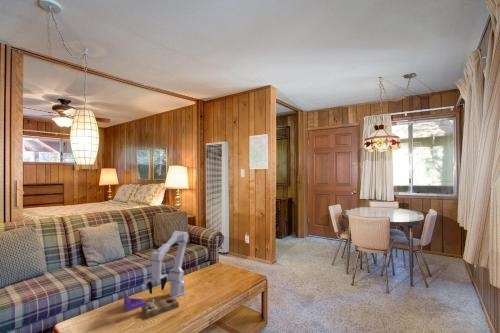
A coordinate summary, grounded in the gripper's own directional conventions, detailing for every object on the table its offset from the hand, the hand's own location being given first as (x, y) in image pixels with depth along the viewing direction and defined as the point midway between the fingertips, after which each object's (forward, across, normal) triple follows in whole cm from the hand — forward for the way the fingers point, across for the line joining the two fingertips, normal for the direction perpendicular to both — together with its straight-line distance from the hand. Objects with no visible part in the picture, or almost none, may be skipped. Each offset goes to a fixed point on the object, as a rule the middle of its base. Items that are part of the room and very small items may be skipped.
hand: (156, 291), depth 167 cm
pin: (+10, +5, +4) cm, 12 cm away
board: (+10, -1, +4) cm, 11 cm away
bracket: (+11, +10, -11) cm, 18 cm away
